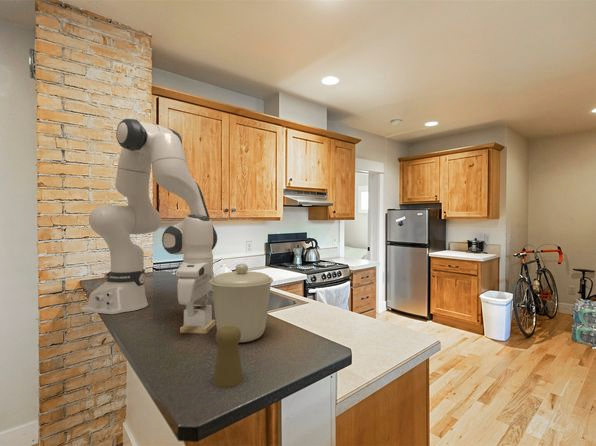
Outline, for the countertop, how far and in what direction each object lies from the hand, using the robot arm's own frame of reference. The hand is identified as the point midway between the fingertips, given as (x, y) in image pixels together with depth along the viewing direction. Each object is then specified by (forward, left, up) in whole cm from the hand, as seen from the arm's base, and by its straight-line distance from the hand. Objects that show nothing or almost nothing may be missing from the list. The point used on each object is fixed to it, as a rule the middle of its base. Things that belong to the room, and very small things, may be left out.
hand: (197, 311), depth 96 cm
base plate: (0, 0, -5) cm, 5 cm away
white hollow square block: (0, 0, -4) cm, 4 cm away
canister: (+15, -6, -6) cm, 17 cm away
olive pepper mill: (+18, -30, -6) cm, 36 cm away
